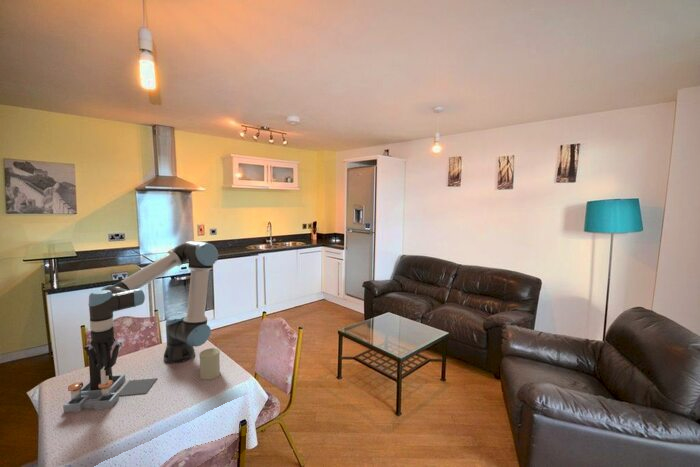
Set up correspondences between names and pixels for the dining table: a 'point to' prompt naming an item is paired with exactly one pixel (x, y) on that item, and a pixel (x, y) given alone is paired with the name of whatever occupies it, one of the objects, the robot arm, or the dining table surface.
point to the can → (209, 364)
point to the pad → (137, 387)
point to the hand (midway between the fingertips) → (105, 382)
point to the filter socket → (97, 393)
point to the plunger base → (90, 403)
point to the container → (96, 376)
